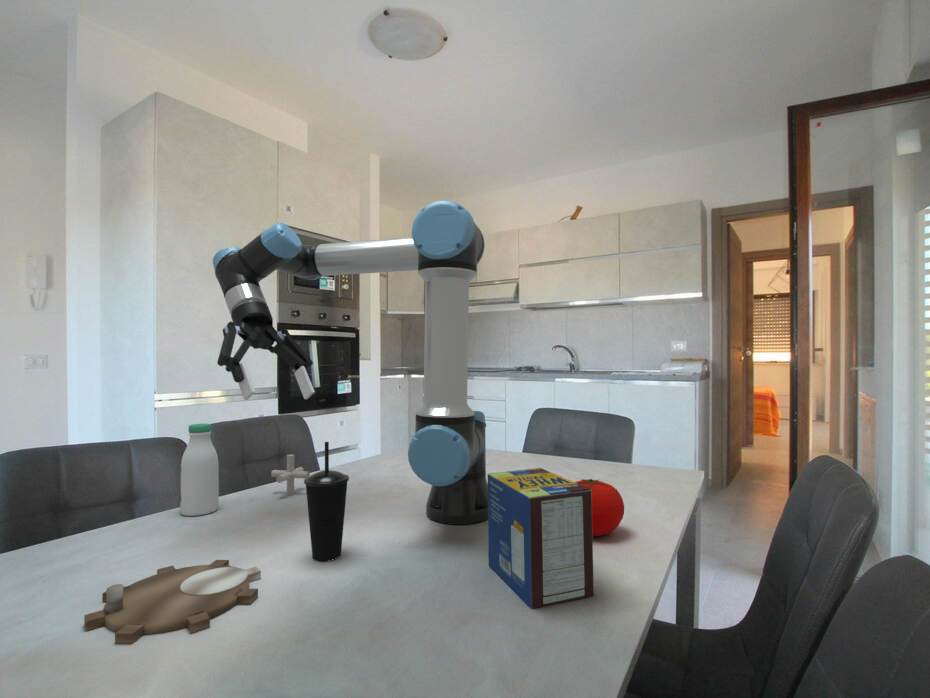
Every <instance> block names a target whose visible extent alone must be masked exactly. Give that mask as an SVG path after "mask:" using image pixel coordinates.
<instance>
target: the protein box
mask: <svg viewBox="0 0 930 698" xmlns="http://www.w3.org/2000/svg"><path fill="white" fill-rule="evenodd" d="M575 482H576V481H573V480H570V479H567V478H566V477H563V476H561V475H558V474H556V473H554V472H551V471H549V470H547V469H544V468H541V467H538V468H536V467H535V468H529V469H518V470H507V471H499V472H496V471H495V472H488V473H487V484H488V520H487V527H488V528H487V529H488V530H487V536H488V537H487V539H488V543H487V544H488V545H487V547H488V549H487V550H488V552H487V553H488V567H489V568H491V570H492V571H494V573H495V574H496V575H497V576H498V577H500V578H501V580H502V581H503V582H504V583H505V584H506V585H507V586H508V587H509V588H510V589H511V590H512V591H513V592H514V593H515V595H517V596H518V597H519V598H520V599H521V600H522V602H523V603H524V604H526V606H528V607H529V609H536V608H542V607H546V606H547V607H548V606H552V605H555V604H560V603H565V602H570V601H574V600H580V599H584V598H589V597H593V596H594V594H595V592H594V591H595V590H594V589H595V586H594V554H593V553H594V551H593V549H594V547H593V546H594V545H593V544H594V543H593V536H592V490H591V489H590V488H588V487H586V486H583V485H580V484H578V483H575Z"/></svg>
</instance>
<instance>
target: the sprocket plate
mask: <svg viewBox="0 0 930 698" xmlns="http://www.w3.org/2000/svg"><path fill="white" fill-rule="evenodd" d="M156 571H157V572H156V573H157V574H154V575H150V576H148V577H145V578H142V579H140V580H137V581H135V582H132V583H131V584H128V585H126V586H125V585H124V584H122V583H118V584H112V585H110V586H108V587H107V588H106V591H103V592H102V595H101V596H102V602H103V603H105V604H104V606H103V608H102V610H98V611H94V612H91V613H88V614H84V616H83V617H84V619H83V621H84V622H83V624H84V630H85V632H87V631H91V630H94V629H97V628H101V627H106V628H107V629H108V630H109V631H112V632H115V633H114V644H126V645H127V644H128V645H129V644H134V643H135V642H137V641H138V640H139V639H140V638H141V637H142V636H144V635H154V634H160V633H161V634H162V633H167V632H173V631H177V630H181V629H185V628H187V630H188V631H189V633H190V634H193V633H197V632H199V631H202V630H206V629H208V628H210V627H211V619H214V618H216V617H218V616H221V615H222V614H224V613H226V612H227V611H229V610H231V609H232V608H234V607H235V606H237V605H248V606H249V605H252V604H253V602H255V600H257V598H258V597H259V588H250V583H251V582H254V580H255V581H257V580H260V579H262V571H261V570H260V569H259V568H258V566H253V567H250V568H246V569H243V568H241V567H237V566H232V565H230V559H215V560H214V561H212V562H211V563H209V564H202V565H192V566H186V567H180V568H176V567H175V566H174V565H169V566H165V567H162V568H157V569H156Z"/></svg>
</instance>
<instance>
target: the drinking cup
mask: <svg viewBox="0 0 930 698" xmlns="http://www.w3.org/2000/svg"><path fill="white" fill-rule="evenodd" d="M329 443H330V441H324V470H322V471H317V472H315V473H313V474H310V476H309V477H307V478H303V484H304V485H305V490H306V491H305V492H306V501H307V503H306V504H307V513H308V521H309V522H308V523H309V533H310V534H309V535H310V543H311V544H310V547H311V555H312V559H313V560H314V561H316V560H317V561H316V562H329V561H328V560H331V561H333V560H332V559H334V560H336V559H335V558H337V557H338V558H340V557H341V556H342V555H341V554H342V546H343V533H344V525H345V524H344V523H345V511H346V502H347V501H346V500H347V490H348V482H349V480H350V476H349V475H348V474H345V473H343V472H340V471H337V470H330V469H329V468H330V466H329V465H330V459H329V458H330V456H329V453H330V452H329V451H330V448H329V445H330V444H329ZM339 556H340V557H339ZM338 558H337V559H338Z"/></svg>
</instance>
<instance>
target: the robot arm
mask: <svg viewBox="0 0 930 698" xmlns="http://www.w3.org/2000/svg"><path fill="white" fill-rule="evenodd" d="M411 226H412V227H411V236H407V237H396V238H395V237H393V238H384V239H383V238H382V239H369V240H356V241H344V242H330V243H321V244H307V245H305V244H302V241H301V240H300V237H299V236H298V235H297V233H296V232H295V231H294V229H292V228H290V227H289V225H288V224H285V223H284V222H277V223H274V224H273V225H272V226H269V228H266V229H264V230H263V231H262V232H261V233H260V234H258V236H256V237H255V238H253V240H250V242H248V243H247V244H246V245H245V246H243V247H238V246H228V247H227V248H221V249H219V250H218V251H217V252H216V253H215V254H214V256H213V258H212V265H213V269H214V274H215V278H216V280H217V282H218V283H219V286H220V289H221V292H222V294H223V298H224V301H225V304H226V307H227V309H228V311H229V315H230V318H231V320H232V321H229V322H227V323H226V325H225V326H224V328H222V335H223V340H222V343H221V347H220V350H219V355H218V359H217V363H216V364H217V365H218V366H220V367H223V366H225V371H227V372H228V373H230V372H231V376H232V379H233V381H234V382H235V383H238V387H239V390H240V392H241V396H242V398H243V400H244V401H247V400H249V399H250V398H251V397H253V395H254V394H255V393H256V389H255V387H254V384H253V381H252V377H251V376H250V372H249V370H248V367H247V363H246V362H241V361H242V360H243V358H244V356H245V355H246V353H247V352H248V350H249V349H250V347H251V348H253V349H255V350H257V349H261V350H264V351H265V350H267V351H269V352H270V353H272V354H275V355H276V356H278V357H279V358H280V359H281V360H283V362H285V363H286V364H287V365H288V366H289V367H291V368H292V369H293V370H294V371H295V372H293V373H294V376H295V380H296V381H297V382H296V383H297V384H298V386H299V390H300V391H301V394H302V397H303V399H304V400H308V399H309V398H310V397H312V395H314V394H315V391H316V390H315V389H314V387H313V384H312V377H311V374H310V371H309V370H308V369H310V367H312V365H314V362H313V360H312V359H311V358H310V357H309V356H308V355H307V353H306V352H305V351H304V350H303V349H302V348H301V347H300V345H298V343H297V342H296V341H295V340H294V338H293V337H292V336H291V334H290V332H289V330H288V329H287V328H283V330H279V331H278V330H276V329H275V328H274V326H273V324H274V322H273V321H274V319H273V318H274V317H273V316H272V312H271V311H270V308H269V306H268V303H267V300H266V297H265V296H264V293H263V291H262V288H261V285H260V282H261V281H262V280H263V279H265V278H267V277H268V276H270V275H271V274H273V272H275V271H280V272H281V273H282V272H283V273H286V274H287V275H288V274H289V275H292V276H295V277H298V278H300V279H302V280H309V281H315V280H318V279H320V278H322V277H325V276H326V277H327V276H329V277H330V276H346V275H347V276H348V275H361V274H377V273H378V274H379V273H380V274H381V273H393V272H407V271H408V272H410V271H411V272H412V271H417V275H418V276H419V277H421V279H423V281H424V283H425V290H424V291H425V298H424V299H425V300H424V304H425V305H424V349H423V351H424V355H423V356H424V358H423V359H424V361H423V363H424V364H423V365H424V366H423V403H422V405H421V406H420V407H419V408H418V409H417V410H416V411H415V429H414V431H415V433H414V435H412V437H411V440H410V442H409V445H408V450H407V458H408V462H409V466H410V468H411V470H412V471H413V473H414V474H415V475H416V477H418V478H419V480H421V481H422V482H424V483H426V484H428V485H431V487H430V491H429V493H428V494H429V495H428V498H427V500H426V506H425V508H426V509H425V510H426V512H425V515H426V517H427V518H428V519H429V520H431V521H433V522H437V523H441V524H449V525H470V524H477V523H482V522H484V521H488V480H487V474H486V473H487V471H486V469H487V465H486V461H487V460H486V459H487V458H486V453H487V452H486V448H487V447H486V427H487V423H486V416H485V414H484V412H483V411H480V410H473V409H472V408H471V407H470V406H469V404H468V379H469V377H468V375H469V374H468V369H469V368H468V367H469V365H468V363H469V360H468V359H469V309H470V308H469V305H470V304H469V303H470V301H469V299H470V296H469V295H470V283H471V281H472V280H473V279H474V278H476V277H477V275H478V274H477V273H478V271H477V270H478V269H477V268H478V264H479V262H480V261H481V259H482V258H483V255H484V252H485V239H484V235H483V233H482V231H481V229H480V228H479V226H478V225H477V224H476V222H475V220H474V218H473V216H472V214H471V213H470V212H469V210H467V208H465V207H463V206H462V205H461V204H459V203H458V202H455V201H452V200H447V199H441V200H436V201H433V202H430V203H429V204H427V205H426V206H424V207H423V208H422V209H421V210H420V211H419V212H418V213H417V214H416V216H415V218H414V220H413V223H412V225H411ZM236 335H238V337H240V338H241V339H242V340H243V341H242V343H241V344H240V346H239V348H238V349H237V351H236V352H235V353H234V355H233V357H232V353H233V348H234V343H235V340H236ZM275 343H276V344H275ZM274 344H275V345H274ZM273 345H274V346H273Z"/></svg>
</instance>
